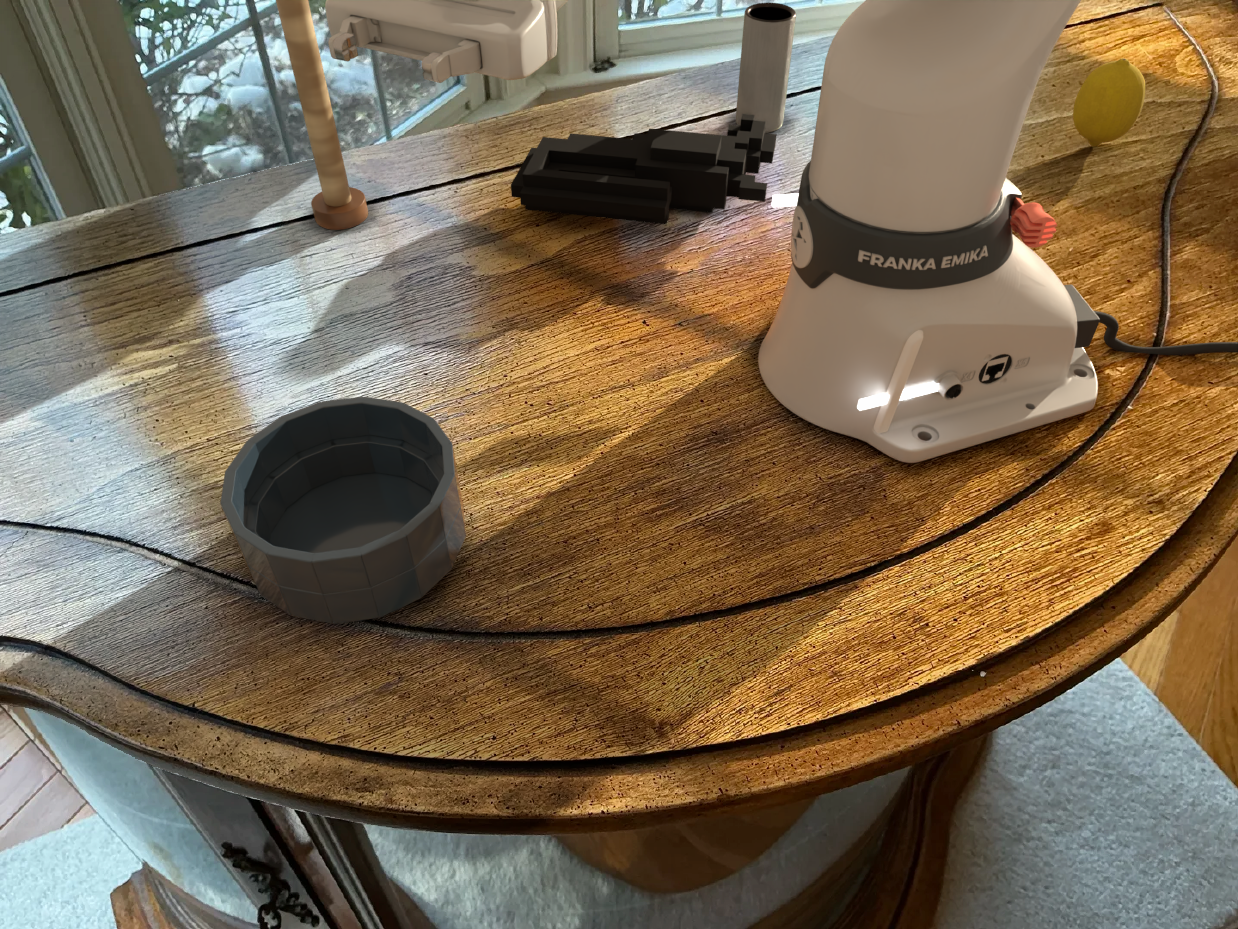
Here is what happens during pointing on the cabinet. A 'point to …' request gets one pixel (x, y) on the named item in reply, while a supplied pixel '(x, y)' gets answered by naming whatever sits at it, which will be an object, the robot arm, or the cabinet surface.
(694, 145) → the tool
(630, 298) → the cabinet surface
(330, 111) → the stirring stick
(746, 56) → the light grey tube
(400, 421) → the bowl
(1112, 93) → the lemon
